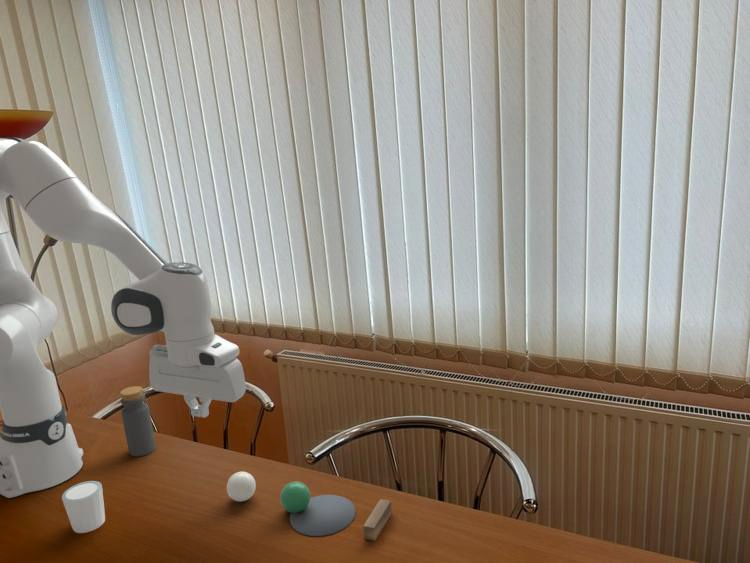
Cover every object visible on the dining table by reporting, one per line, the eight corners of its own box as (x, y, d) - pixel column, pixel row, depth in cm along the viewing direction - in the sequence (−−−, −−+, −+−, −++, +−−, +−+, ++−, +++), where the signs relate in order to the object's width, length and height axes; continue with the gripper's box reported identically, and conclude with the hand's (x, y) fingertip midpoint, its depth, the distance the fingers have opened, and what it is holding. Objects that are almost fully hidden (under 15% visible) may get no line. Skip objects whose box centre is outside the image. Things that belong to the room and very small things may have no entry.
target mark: (277, 529, 108) (277, 528, 108) (309, 491, 119) (309, 490, 119) (338, 541, 104) (338, 540, 104) (365, 501, 115) (365, 500, 114)
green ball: (285, 486, 109) (306, 509, 109) (300, 470, 114) (320, 492, 114) (269, 501, 112) (289, 524, 111) (284, 485, 117) (304, 506, 116)
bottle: (145, 457, 137) (133, 396, 133) (123, 455, 139) (111, 395, 135) (161, 444, 142) (150, 385, 139) (140, 442, 144) (129, 384, 141)
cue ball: (239, 478, 114) (250, 504, 114) (254, 464, 119) (265, 489, 119) (216, 483, 116) (227, 509, 116) (232, 469, 121) (242, 493, 122)
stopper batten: (364, 538, 104) (363, 525, 103) (381, 511, 111) (380, 499, 111) (375, 540, 103) (374, 528, 103) (391, 512, 110) (390, 500, 110)
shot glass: (93, 536, 111) (86, 502, 109) (60, 534, 112) (53, 500, 110) (116, 513, 117) (109, 481, 115) (85, 511, 119) (78, 479, 117)
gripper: (136, 348, 116) (146, 415, 119) (226, 359, 108) (234, 430, 111) (159, 338, 121) (168, 402, 125) (246, 347, 114) (253, 415, 117)
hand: (200, 415), depth 118 cm, fingers closed
